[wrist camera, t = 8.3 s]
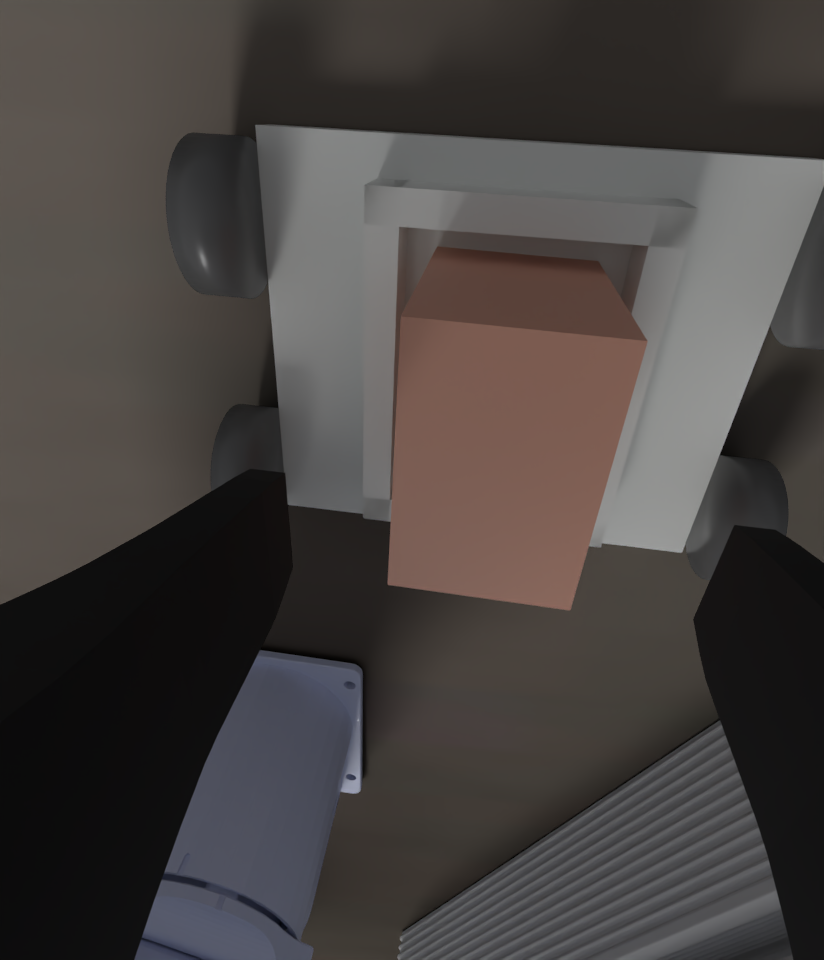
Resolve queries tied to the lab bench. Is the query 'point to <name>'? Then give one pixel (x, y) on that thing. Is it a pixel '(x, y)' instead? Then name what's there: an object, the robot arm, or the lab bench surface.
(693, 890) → the aluminum extrusion profile
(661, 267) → the chassis
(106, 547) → the lab bench surface
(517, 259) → the terracotta rectangular block
